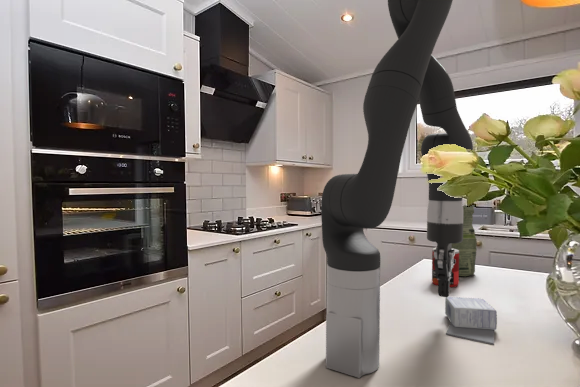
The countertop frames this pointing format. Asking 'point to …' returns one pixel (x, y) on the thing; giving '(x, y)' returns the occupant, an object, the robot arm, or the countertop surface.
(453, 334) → the mat
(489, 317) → the medicine box
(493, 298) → the countertop surface
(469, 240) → the pouch
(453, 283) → the canned food
